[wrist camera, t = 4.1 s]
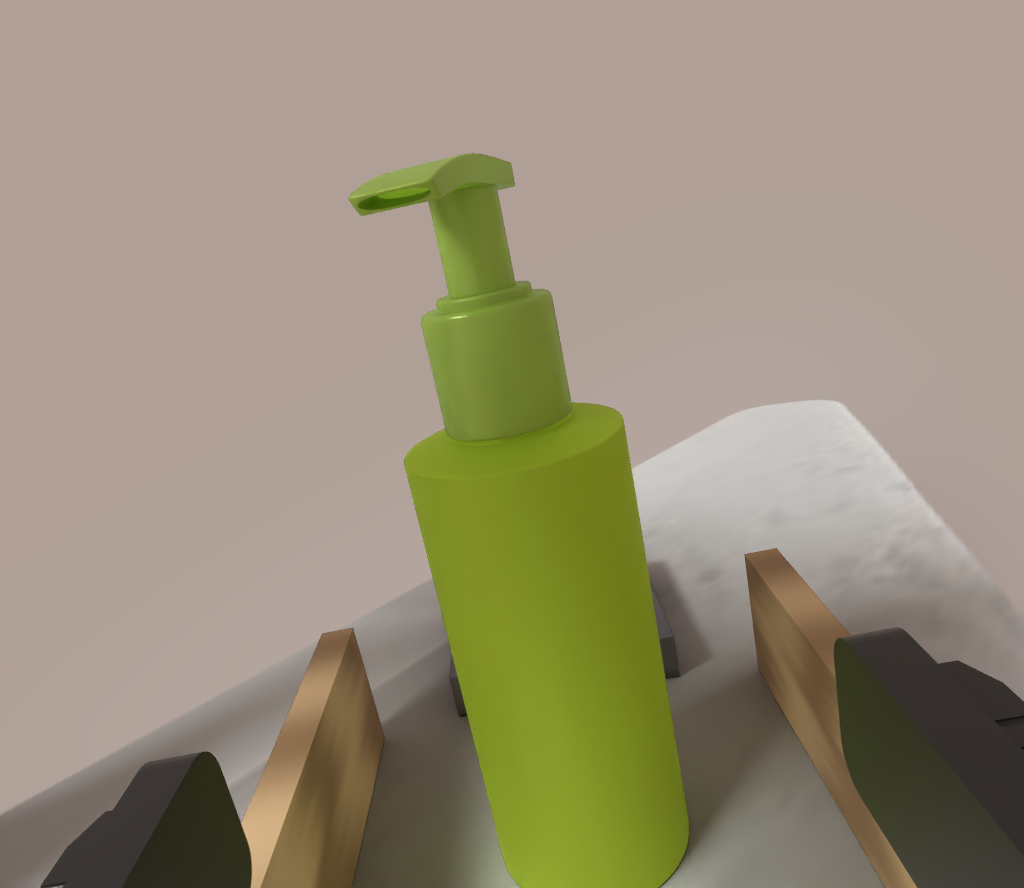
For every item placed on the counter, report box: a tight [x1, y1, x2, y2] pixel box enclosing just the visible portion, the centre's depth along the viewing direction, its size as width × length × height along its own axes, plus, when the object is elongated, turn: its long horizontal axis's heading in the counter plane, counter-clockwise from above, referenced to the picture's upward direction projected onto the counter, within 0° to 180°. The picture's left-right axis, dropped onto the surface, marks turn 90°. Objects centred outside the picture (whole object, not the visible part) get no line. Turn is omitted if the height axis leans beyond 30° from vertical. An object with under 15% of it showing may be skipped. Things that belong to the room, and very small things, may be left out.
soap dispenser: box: [348, 153, 689, 888], centre depth 21 cm, size 6×7×20 cm
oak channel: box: [241, 548, 917, 888], centre depth 23 cm, size 14×17×5 cm
